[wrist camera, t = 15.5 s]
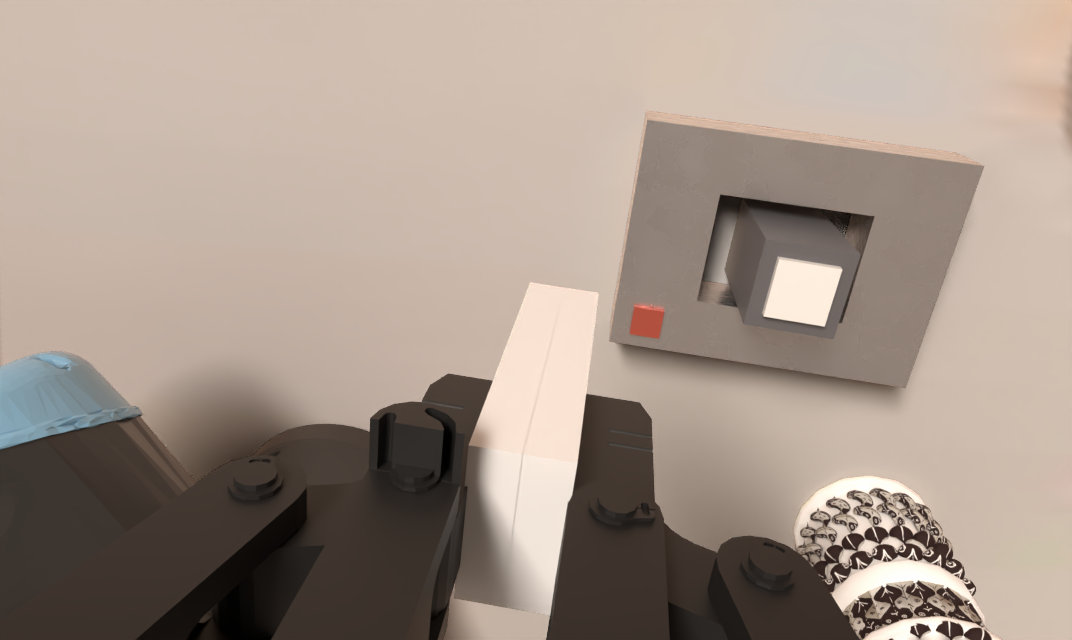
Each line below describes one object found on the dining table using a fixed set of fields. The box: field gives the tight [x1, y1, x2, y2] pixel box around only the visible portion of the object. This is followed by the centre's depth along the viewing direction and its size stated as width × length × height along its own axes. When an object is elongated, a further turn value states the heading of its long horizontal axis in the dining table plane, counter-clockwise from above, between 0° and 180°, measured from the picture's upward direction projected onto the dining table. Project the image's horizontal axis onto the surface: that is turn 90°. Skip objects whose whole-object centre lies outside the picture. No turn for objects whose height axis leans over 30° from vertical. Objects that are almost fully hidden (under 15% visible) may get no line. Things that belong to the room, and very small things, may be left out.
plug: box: [725, 198, 861, 339], centre depth 38 cm, size 4×4×8 cm
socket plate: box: [609, 111, 984, 388], centre depth 40 cm, size 12×16×4 cm
